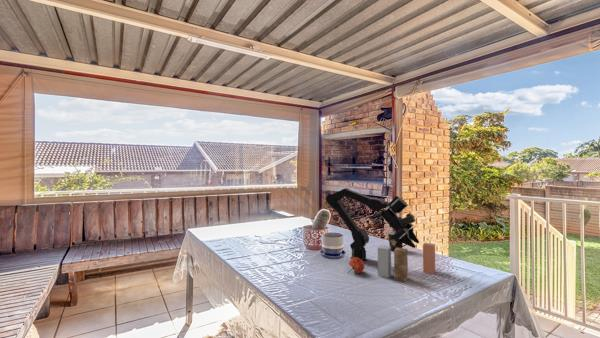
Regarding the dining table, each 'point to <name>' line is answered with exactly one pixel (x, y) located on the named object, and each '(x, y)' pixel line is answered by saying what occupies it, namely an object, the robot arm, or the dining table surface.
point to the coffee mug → (394, 242)
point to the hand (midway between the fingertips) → (416, 245)
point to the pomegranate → (357, 264)
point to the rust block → (429, 258)
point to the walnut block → (400, 264)
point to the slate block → (384, 261)
